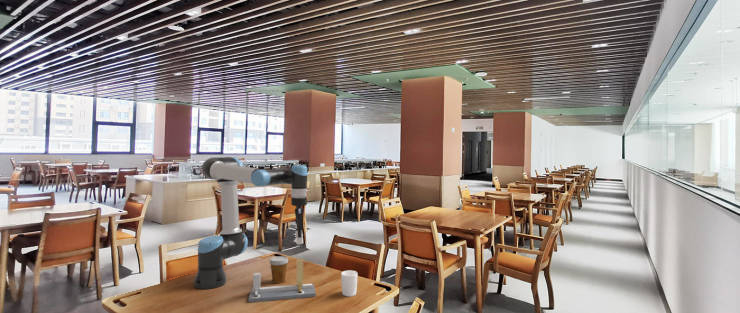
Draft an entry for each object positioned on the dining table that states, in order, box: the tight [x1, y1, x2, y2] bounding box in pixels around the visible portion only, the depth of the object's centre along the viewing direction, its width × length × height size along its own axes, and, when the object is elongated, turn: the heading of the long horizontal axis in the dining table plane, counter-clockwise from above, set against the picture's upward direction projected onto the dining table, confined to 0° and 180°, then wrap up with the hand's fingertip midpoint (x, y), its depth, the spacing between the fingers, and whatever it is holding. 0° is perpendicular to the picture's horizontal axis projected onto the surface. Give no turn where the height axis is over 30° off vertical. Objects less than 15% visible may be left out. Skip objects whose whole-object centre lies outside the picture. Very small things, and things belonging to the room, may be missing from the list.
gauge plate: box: [248, 272, 317, 303], centre depth 171 cm, size 30×12×10 cm, turn 104°
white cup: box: [340, 269, 359, 297], centre depth 172 cm, size 8×8×10 cm
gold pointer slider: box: [295, 258, 304, 292], centre depth 172 cm, size 3×8×13 cm, turn 14°
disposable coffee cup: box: [269, 255, 289, 284], centre depth 188 cm, size 10×10×12 cm
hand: (298, 240), depth 175 cm, fingers open, 13 cm apart
